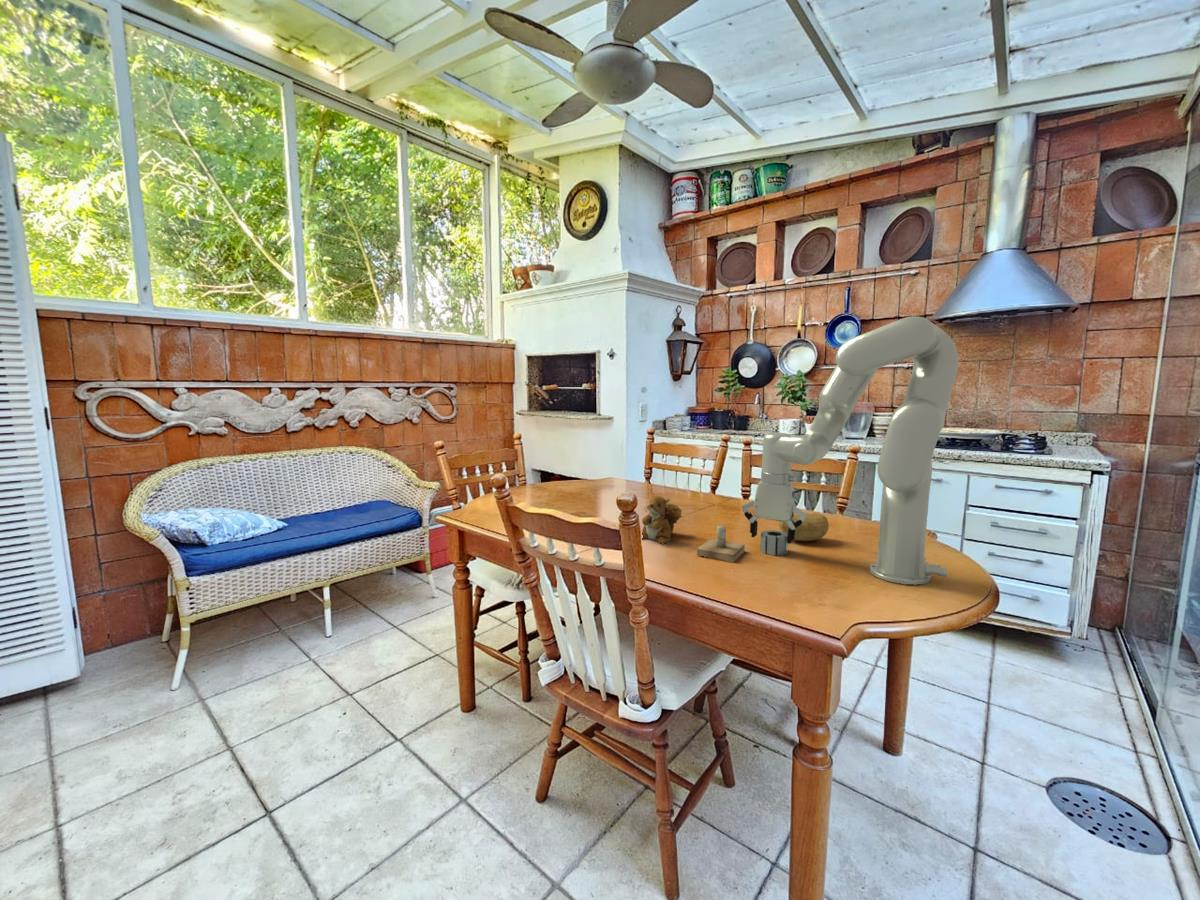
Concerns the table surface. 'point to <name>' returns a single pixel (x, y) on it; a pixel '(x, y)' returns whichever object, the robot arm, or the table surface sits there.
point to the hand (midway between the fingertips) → (771, 539)
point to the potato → (808, 527)
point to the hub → (774, 542)
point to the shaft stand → (721, 547)
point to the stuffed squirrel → (660, 519)
